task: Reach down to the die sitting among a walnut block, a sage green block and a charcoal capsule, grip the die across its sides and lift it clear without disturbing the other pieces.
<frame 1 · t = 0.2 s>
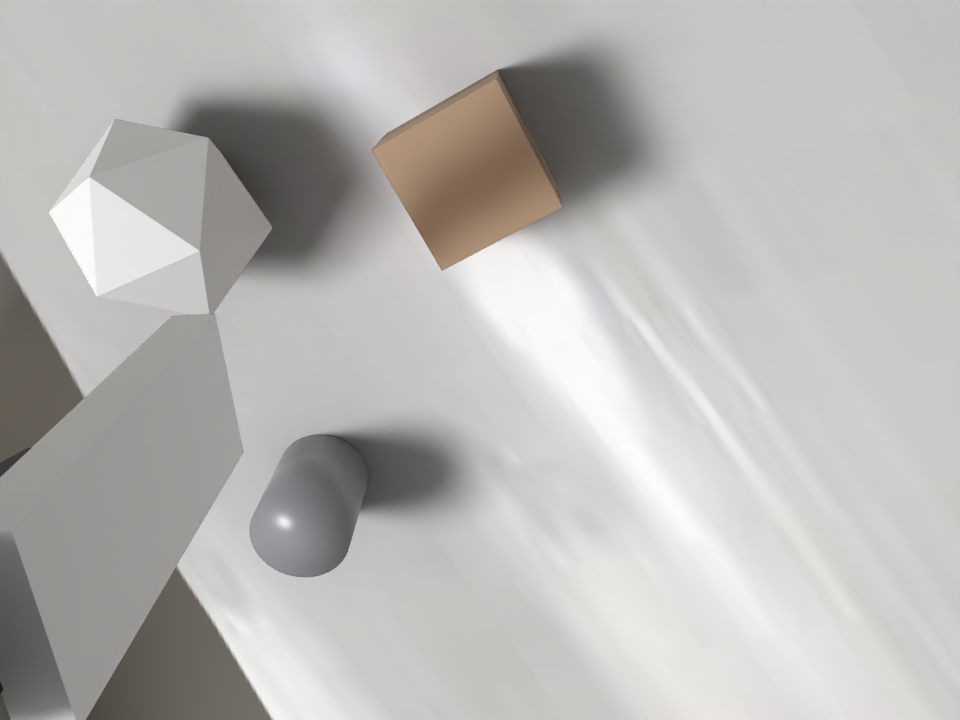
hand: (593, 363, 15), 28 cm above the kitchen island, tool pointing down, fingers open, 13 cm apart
walnut block: (472, 158, 41), on the kitchen island
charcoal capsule: (324, 474, 48), on the kitchen island
die: (193, 200, 43), on the kitchen island
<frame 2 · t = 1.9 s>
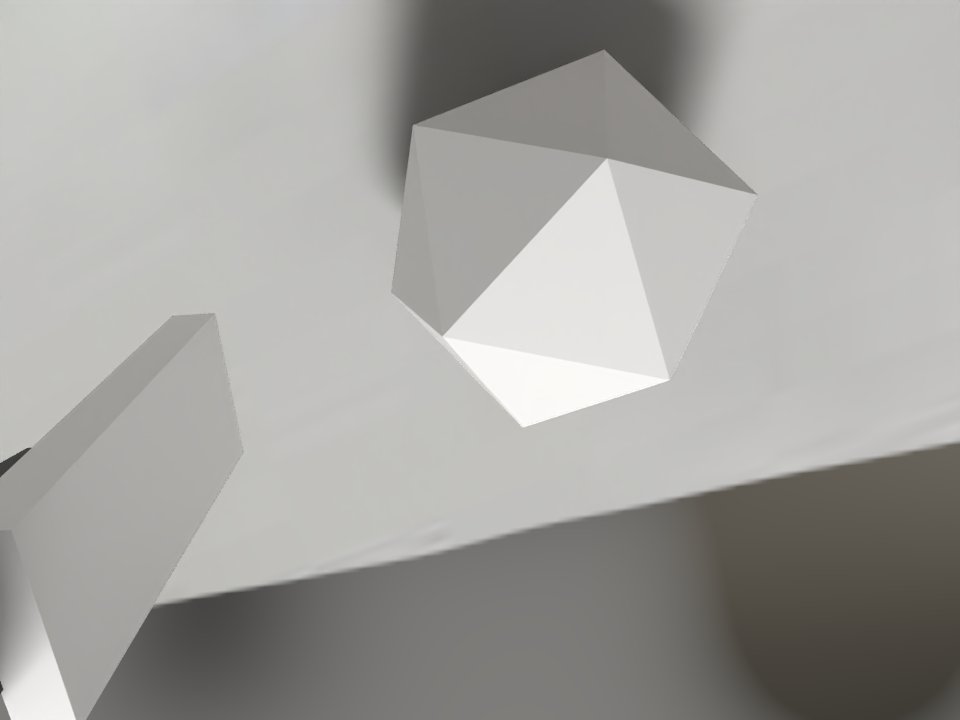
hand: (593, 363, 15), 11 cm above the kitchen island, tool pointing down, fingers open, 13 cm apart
die: (553, 210, 25), on the kitchen island
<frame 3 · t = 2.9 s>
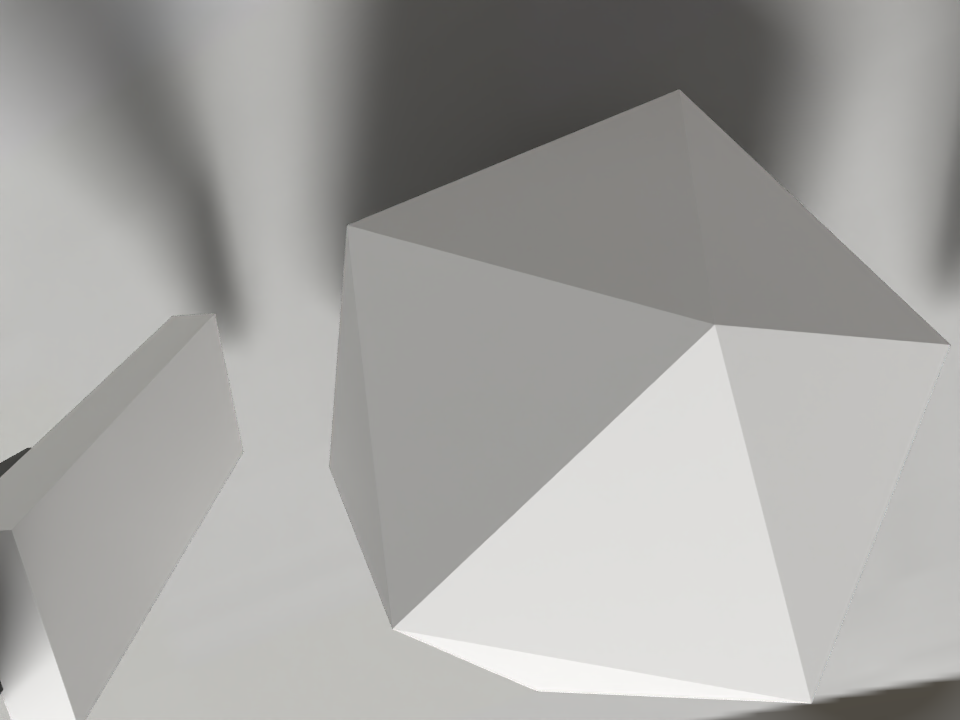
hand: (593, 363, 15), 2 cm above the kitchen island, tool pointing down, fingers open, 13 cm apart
die: (582, 321, 17), on the kitchen island
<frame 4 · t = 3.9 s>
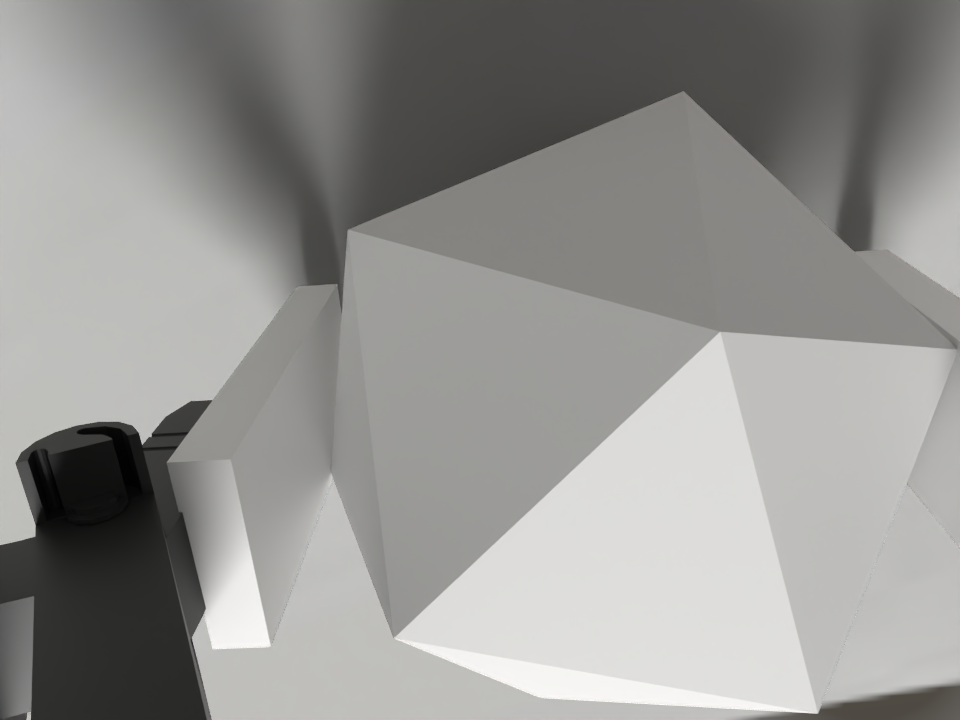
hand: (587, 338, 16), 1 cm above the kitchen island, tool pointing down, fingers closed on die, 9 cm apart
die: (585, 324, 17), on the kitchen island, touching gripper
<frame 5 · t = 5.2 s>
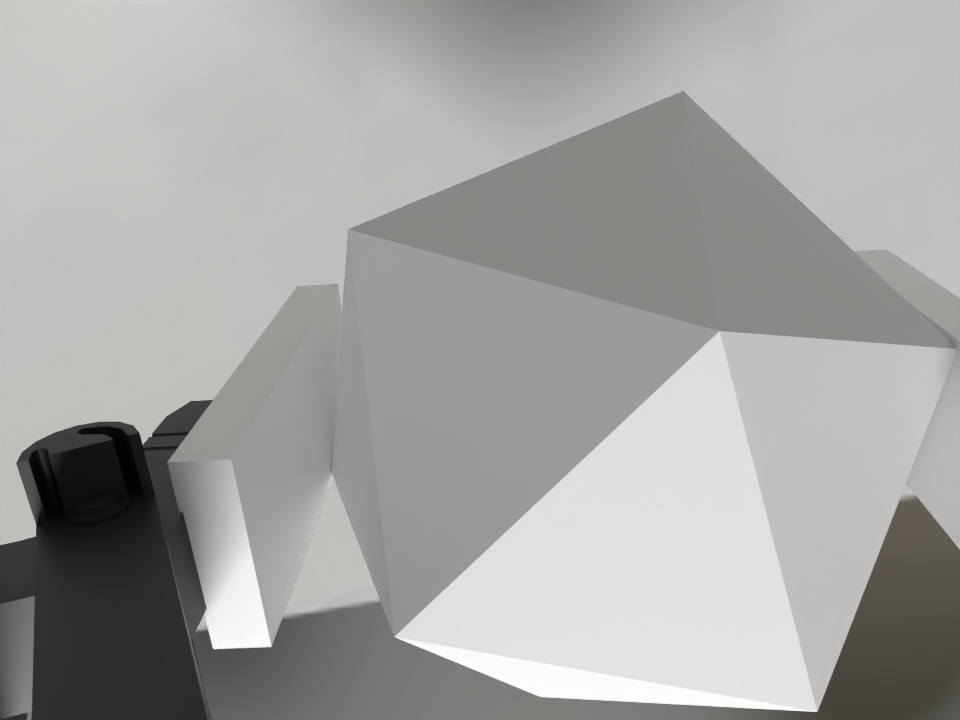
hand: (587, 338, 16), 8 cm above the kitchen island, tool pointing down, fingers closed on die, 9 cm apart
die: (585, 323, 17), point 8 cm above the kitchen island, touching gripper
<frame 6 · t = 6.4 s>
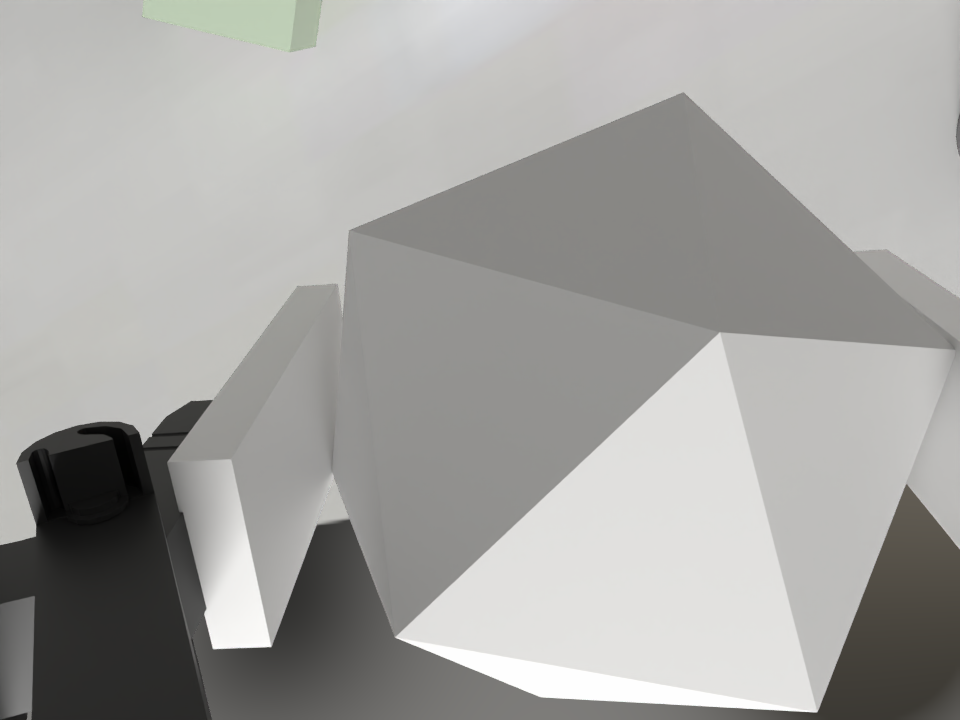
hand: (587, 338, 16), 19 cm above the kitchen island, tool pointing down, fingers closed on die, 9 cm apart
die: (585, 324, 17), point 18 cm above the kitchen island, touching gripper
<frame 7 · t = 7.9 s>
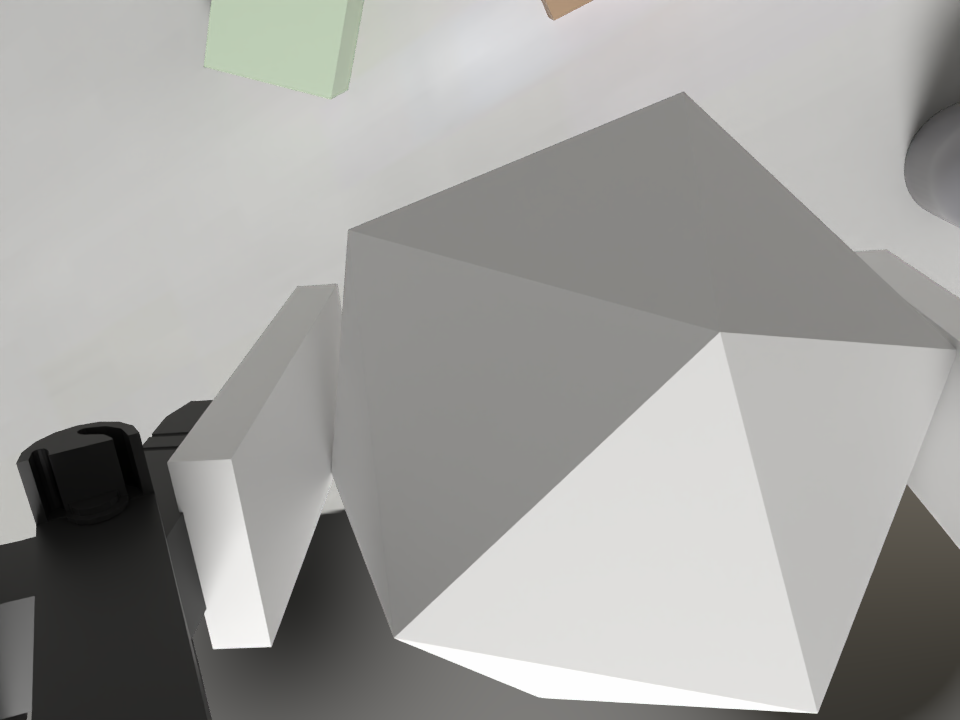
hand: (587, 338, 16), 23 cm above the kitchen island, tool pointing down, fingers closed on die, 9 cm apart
sage block: (301, 14, 36), on the kitchen island
die: (585, 324, 17), point 23 cm above the kitchen island, touching gripper
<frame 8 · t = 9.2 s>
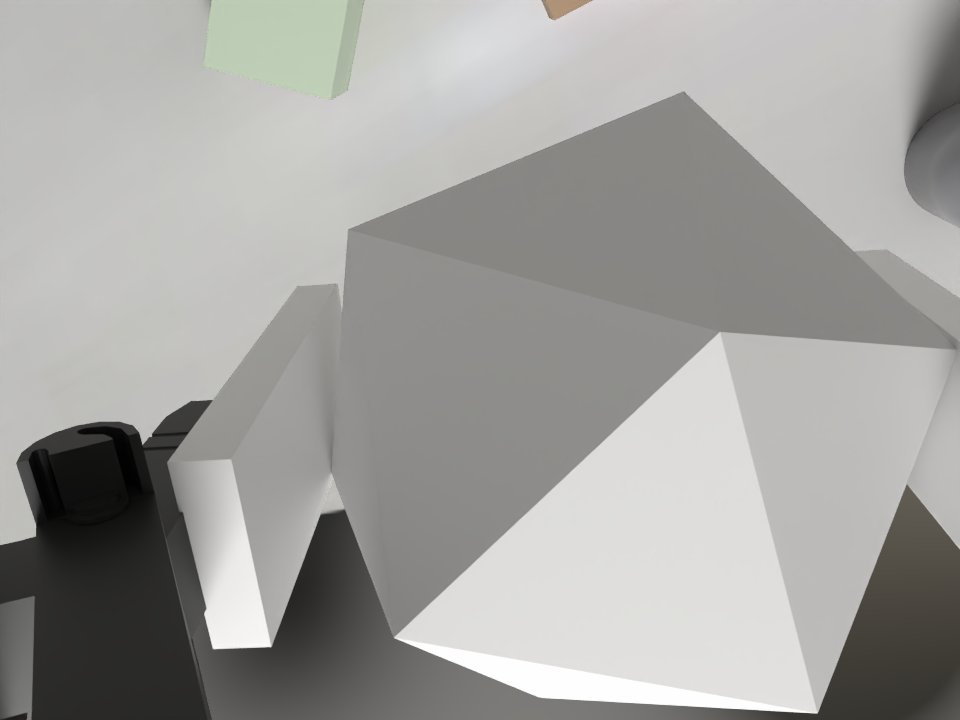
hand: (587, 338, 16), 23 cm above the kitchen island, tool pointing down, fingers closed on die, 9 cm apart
sage block: (301, 14, 36), on the kitchen island
die: (585, 324, 17), point 23 cm above the kitchen island, touching gripper
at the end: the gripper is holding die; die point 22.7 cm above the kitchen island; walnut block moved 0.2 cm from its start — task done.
